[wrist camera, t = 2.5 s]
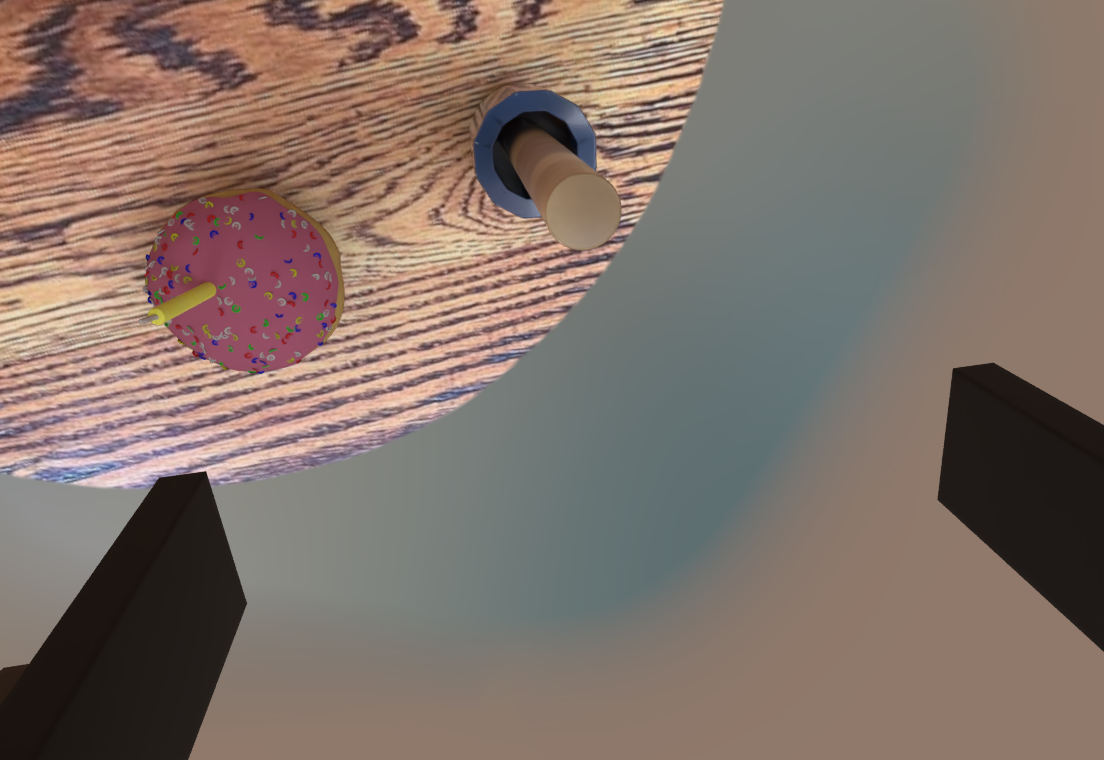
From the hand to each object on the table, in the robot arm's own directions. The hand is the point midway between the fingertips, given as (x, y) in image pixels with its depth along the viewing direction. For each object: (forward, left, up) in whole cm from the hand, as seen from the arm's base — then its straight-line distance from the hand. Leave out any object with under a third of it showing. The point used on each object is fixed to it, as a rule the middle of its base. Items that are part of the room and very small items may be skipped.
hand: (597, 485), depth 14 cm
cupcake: (+11, -4, -29) cm, 31 cm away
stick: (-3, -2, -28) cm, 28 cm away
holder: (-3, -2, -29) cm, 29 cm away
